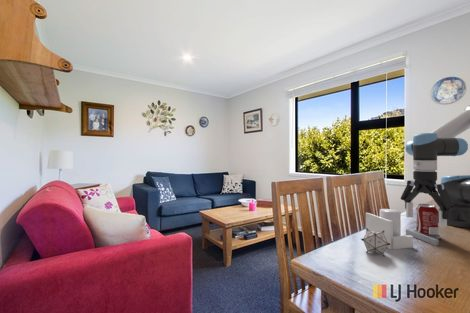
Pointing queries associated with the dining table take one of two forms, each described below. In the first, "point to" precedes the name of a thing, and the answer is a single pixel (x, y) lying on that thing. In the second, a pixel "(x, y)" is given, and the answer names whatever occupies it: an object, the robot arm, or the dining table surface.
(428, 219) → the soda can
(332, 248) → the dining table surface
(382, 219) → the dispenser rack
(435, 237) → the coaster
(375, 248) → the game die
